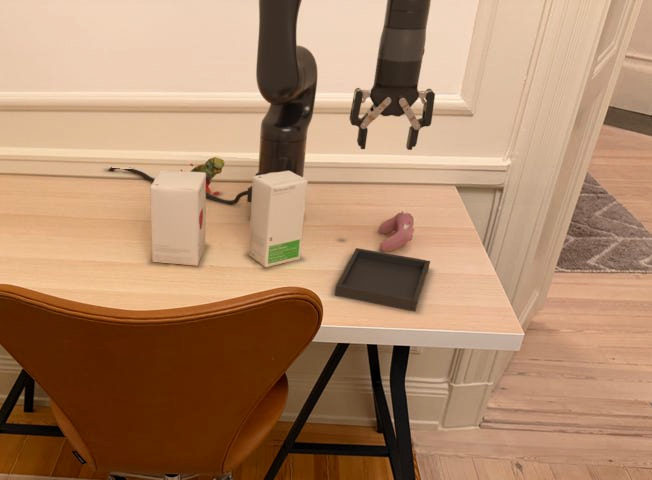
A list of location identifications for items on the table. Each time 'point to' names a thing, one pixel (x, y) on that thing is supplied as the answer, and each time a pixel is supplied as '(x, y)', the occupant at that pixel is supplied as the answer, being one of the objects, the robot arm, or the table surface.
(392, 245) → the video game controller
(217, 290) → the table surface
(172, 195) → the rectangular carton
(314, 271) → the table surface
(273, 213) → the cosmetic box
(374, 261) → the tray
